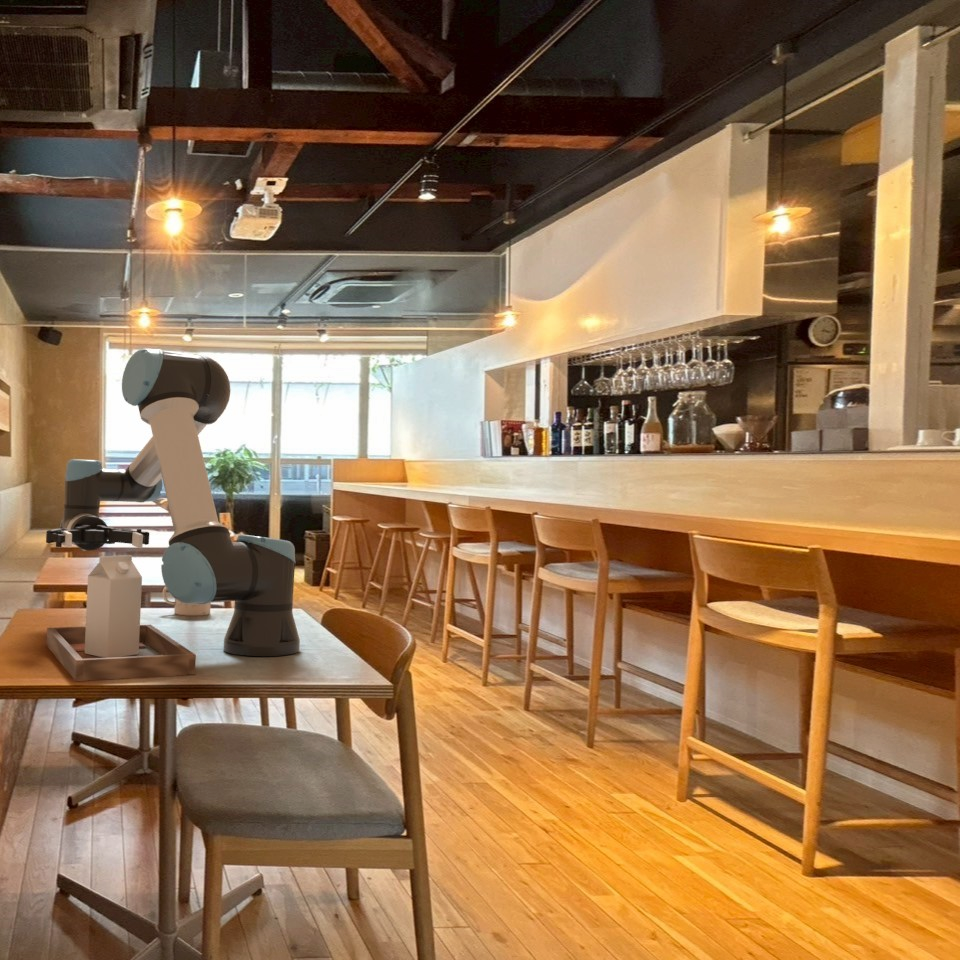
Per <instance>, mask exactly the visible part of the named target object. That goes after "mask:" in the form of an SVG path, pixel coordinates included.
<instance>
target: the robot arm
mask: <svg viewBox="0 0 960 960" xmlns="http://www.w3.org/2000/svg"><path fill="white" fill-rule="evenodd" d="M121 393H122V397H123V398H124V401H125V402H126V403H128V404H129V405H131V406H132V407H135V406H137V408H138V411H139V416H140V419H141V421H142V422H144V423H145V424H147V425H149V426H150V429H151V434H152V437H150V439H149V440H148V442H147V443H146V444H145V445H144V446H143V448H142V449H141V451H140V452H139V453H138V454H137V455H136V457H135V458H134V459H133V461H132V462H131V463H130V464H129V465H128V466H127V468H123V469H119V468H118V469H117V468H106V467H105V468H104V467H103V464H102V462H101V460H97V459H82V458H81V459H78V458H72V459H70V460H69V461H67V463H66V468H65V474H64V475H65V476H64V504H63V515H62V519H61V521H60V525H59V527H58V528H55V529H49V530H48V529H47V530H46V533H45V534H46V535H45V543H46V544H53V543H55V547H56V548H62V545H63V546H65V547H66V548H72V544H73V545H75V546H76V547H77V548H79V549H81V550H82V551H84V552H86V551H89V552H91V551H92V552H93V551H96V550H98V549H100V548H102V547H104V545H114V544H115V543H119V544H129V545H131V546H133V547H136V548H138V549H143V546H144V545H145V546H146V545H149V544H150V532H149V531H143V530H142V529H141V528H136V530H131V529H126V528H120V529H118V530H117V529H116V528H115V527H108V525H107V523H106V522H105V521H104V520H103V519H102V518H100V509H101V506H100V505H101V502H124V503H125V502H126V503H128V502H129V503H130V502H131V503H132V502H134V503H146V502H155V501H156V500H157V499H159V498H160V496H161V492H162V491H163V487H164V491H165V497H166V501H167V505H168V510H169V513H170V518H171V523H172V526H173V531H174V532H173V534H172V535H171V537H170V538H169V539H168V545H169V546H168V547H167V548H166V549H165V550H164V552H163V554H162V558H161V561H162V563H163V564H161V568H160V569H161V575H162V576H161V577H162V580H163V583H164V585H165V586H164V587H166V588H167V590H166V591H167V592H168V593H169V594H170V595H171V597H173V598H174V600H175V599H177V600H179V601H180V602H182V603H187V604H191V603H196V604H207V603H211V604H213V603H225V602H234V609H233V615H232V617H231V620H230V623H229V625H228V627H227V630H226V633H225V636H224V640H223V651H225V652H226V653H229V654H232V655H238V656H239V655H240V656H248V657H251V656H252V657H279V656H287V655H292V654H293V655H294V654H296V653H299V652H300V649H301V648H300V645H301V641H300V637H299V633H298V628H297V625H296V621H295V618H294V613H293V611H294V610H293V608H294V607H293V604H294V586H295V585H294V584H295V582H294V581H295V570H296V569H295V568H296V554H295V553H296V548H295V545H294V543H293V542H291V541H289V540H287V539H286V540H285V539H277V538H273V537H271V538H270V537H265V536H258V535H257V536H255V535H249V534H242V533H241V534H239V535H238V536H237V539H236V540H235V541H232V537H231V533H230V531H229V527H227V526H226V525H225V524H222V523H220V522H219V518H218V517H219V516H218V514H217V510H216V506H215V502H214V498H213V493H212V488H211V484H210V481H209V480H210V479H209V477H208V472H207V467H206V464H205V459H204V455H203V450H202V447H201V443H200V440H199V435H200V434H201V432H202V431H203V430H204V429H205V427H206V426H207V425H212V424H215V423H216V422H217V421H218V420H219V418H220V417H221V416H222V415H223V413H224V412H225V410H226V408H227V406H228V404H229V402H230V398H231V397H230V396H231V383H230V379H229V376H228V373H227V372H226V371H225V369H224V368H223V367H222V365H221V364H220V363H219V362H217V361H216V360H214V359H212V357H209V356H206V355H202V354H191V353H184V352H183V353H182V352H175V351H168V350H162V349H160V348H141V349H138V350H137V351H135V352H134V353H133V354H132V355H131V356H130V358H129V359H128V361H127V363H126V365H125V368H124V370H123V374H122V379H121Z"/></svg>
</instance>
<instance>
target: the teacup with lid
mask: <svg viewBox="0 0 960 960" xmlns="http://www.w3.org/2000/svg"><path fill="white" fill-rule="evenodd" d="M162 589H163V590H162V591H161V592H162V597H163V600H164V602H165V603H166V604H168V605H174V607H173V609H174V611H173V613H174V614H175V615H178V616H187V617H192V616H193V617H199V616H201V617H202V616H206V615H209V614H211V605H212V603H207V604H196V603H191V604H187V603H182V602H180V601H179V600H177V599H175V598H174V601H171V600H169V599H168V597H167V591H168V590H167V588H166V586H164V588H162Z"/></svg>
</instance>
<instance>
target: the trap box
mask: <svg viewBox="0 0 960 960" xmlns="http://www.w3.org/2000/svg"><path fill="white" fill-rule="evenodd" d="M85 631H86V626H67V627H66V626H64V627H61V626H60V627H46V647H47V648H48V649H49V651H50V652H51V653H52V654H53V655H54V656H55V658H56V660H57V661H58V662H59V663H60V664H61V665H62V666H63V668H64V669H65V670H66V672H67V673H68V674H69V675H70V676H71V678H72V679H73V680H74V681H75V682H83V681H84V682H85V681H88V680H89V681H102V680H103V681H104V680H105V681H106V680H121V678H122V680H123V678H124V679H138V678H139V679H140V678H157V677H158V678H159V677H173V676H174V677H175V676H188V675H187V674H195V675H196V664H197V663H196V661H197V655H196V653H194V652H193V651H191V650H189V649H188V648H187V647H185V646H183V645H182V644H181V643H179V642H178V641H176V640H174V639H173V638H172V637H170V636H169V635H167V634H165V632H162V631H161V630H160V629H158V628H157V627H155V626H153V625H152V624H140V633H139V649H146V647H147V646H146V645H145V644H147V645H148V646H149V647H150V648H152V649H153V650H155V651H156V652H157V653H158V655H157V654H154V655H153V654H152V655H129V656H122V657H107V658H103V657H92V658H91V657H90V658H89V657H87V658H83V657H81V655H80V654H79V653H78V652H83V651H84V652H85ZM144 643H145V644H144Z"/></svg>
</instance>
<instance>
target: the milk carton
mask: <svg viewBox="0 0 960 960" xmlns="http://www.w3.org/2000/svg"><path fill="white" fill-rule="evenodd" d="M132 557H133V555H131V554H127V555H125V554H123V555H107V556H106V555H104V556H103V555H102V556H99V562H98V563H97V564H96V566H94V568H93V569H92V571H90V573H89V574H88V575H87V592H86V608H85V609H86V612H85V615H86V616H85V627H86V631H85V651H84V654H87V655H91V656H94V657H98V658H107V657H128V656H137V655H138V654H139V652H140V651H139V650H140V648H139V633H140V625H141V609H142V605H141V604H142V590H143V589H142V586H143V585H142V583H143V577H142V575H141V573H140V572H139V570H138V568H137V567H136V564H134V562H133V558H132Z"/></svg>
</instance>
